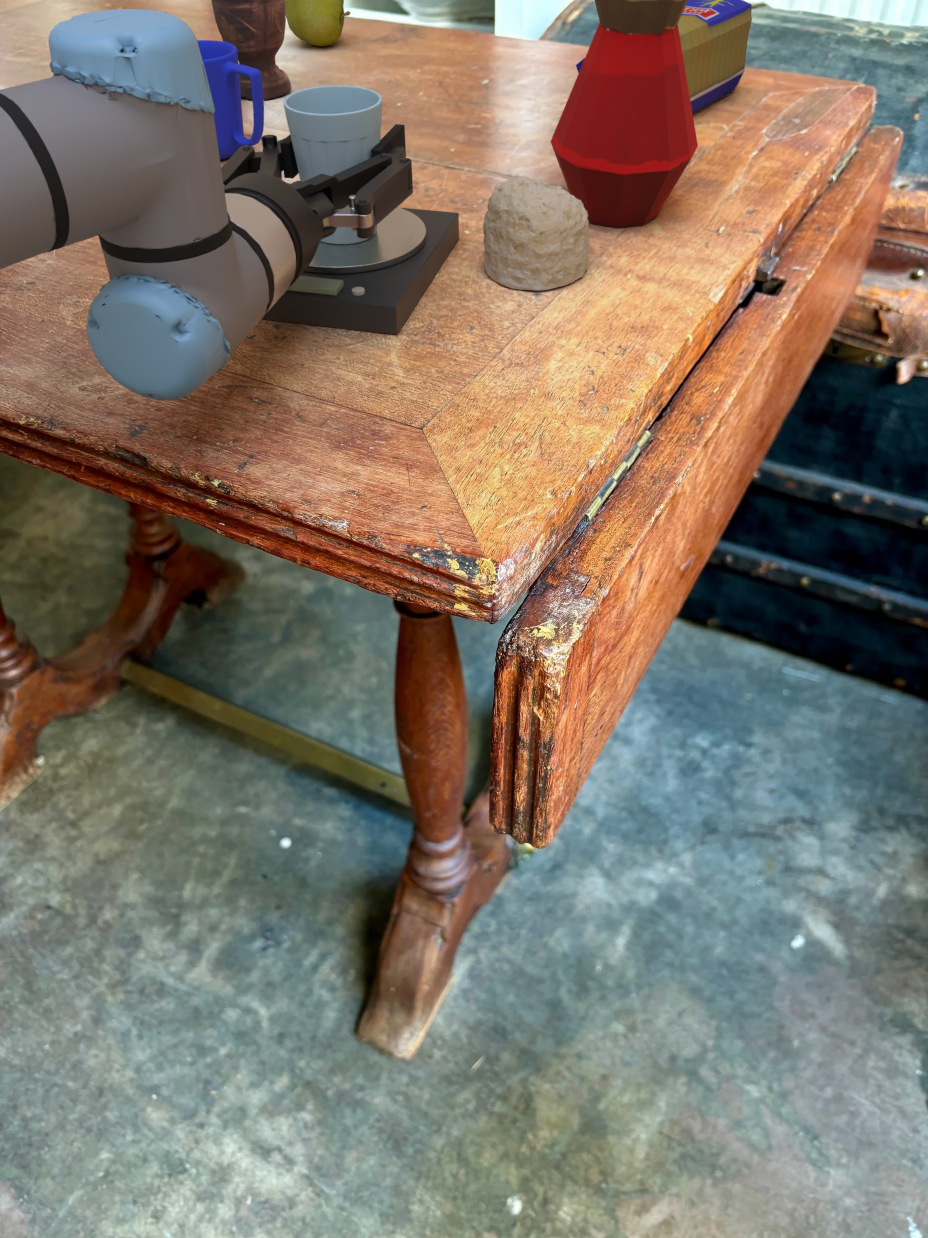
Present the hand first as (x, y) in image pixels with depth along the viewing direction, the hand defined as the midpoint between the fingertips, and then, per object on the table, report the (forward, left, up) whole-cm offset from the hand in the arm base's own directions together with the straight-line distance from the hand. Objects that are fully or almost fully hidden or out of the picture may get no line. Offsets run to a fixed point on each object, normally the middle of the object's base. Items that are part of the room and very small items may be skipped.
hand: (357, 138), depth 84 cm
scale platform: (0, -5, -7) cm, 8 cm away
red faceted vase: (+21, +14, -9) cm, 27 cm away
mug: (-22, +19, -9) cm, 30 cm away
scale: (0, -6, -9) cm, 11 cm away
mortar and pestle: (-27, +40, -9) cm, 49 cm away
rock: (+16, -1, -9) cm, 19 cm away
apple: (-28, +64, -9) cm, 70 cm away
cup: (0, -5, -6) cm, 8 cm away
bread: (+22, +46, -9) cm, 51 cm away
